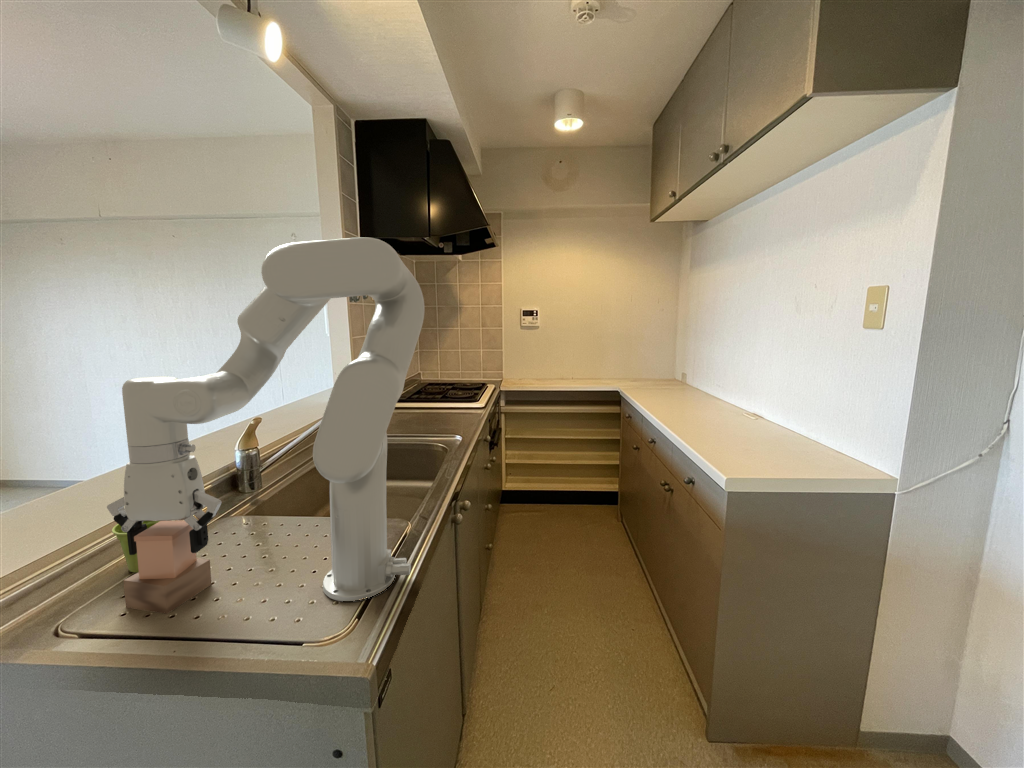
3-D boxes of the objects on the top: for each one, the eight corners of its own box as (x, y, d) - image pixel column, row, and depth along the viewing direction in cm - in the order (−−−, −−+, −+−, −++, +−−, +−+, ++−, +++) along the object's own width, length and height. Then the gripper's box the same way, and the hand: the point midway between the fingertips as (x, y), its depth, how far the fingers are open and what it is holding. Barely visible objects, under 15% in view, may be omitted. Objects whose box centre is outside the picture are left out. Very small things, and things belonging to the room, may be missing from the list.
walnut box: (211, 585, 74) (209, 559, 73) (167, 615, 66) (165, 586, 65) (173, 580, 75) (171, 554, 74) (125, 608, 67) (123, 580, 66)
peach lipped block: (198, 559, 73) (195, 520, 72) (175, 578, 67) (172, 535, 66) (163, 560, 72) (160, 520, 71) (137, 579, 67) (133, 536, 66)
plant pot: (143, 581, 74) (139, 536, 73) (102, 574, 76) (98, 530, 75) (193, 555, 83) (190, 514, 82) (155, 549, 85) (152, 509, 84)
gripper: (228, 445, 72) (236, 537, 74) (124, 446, 70) (134, 540, 72) (199, 457, 64) (208, 560, 66) (81, 459, 63) (94, 563, 65)
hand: (169, 549), depth 69 cm, fingers open, 9 cm apart
